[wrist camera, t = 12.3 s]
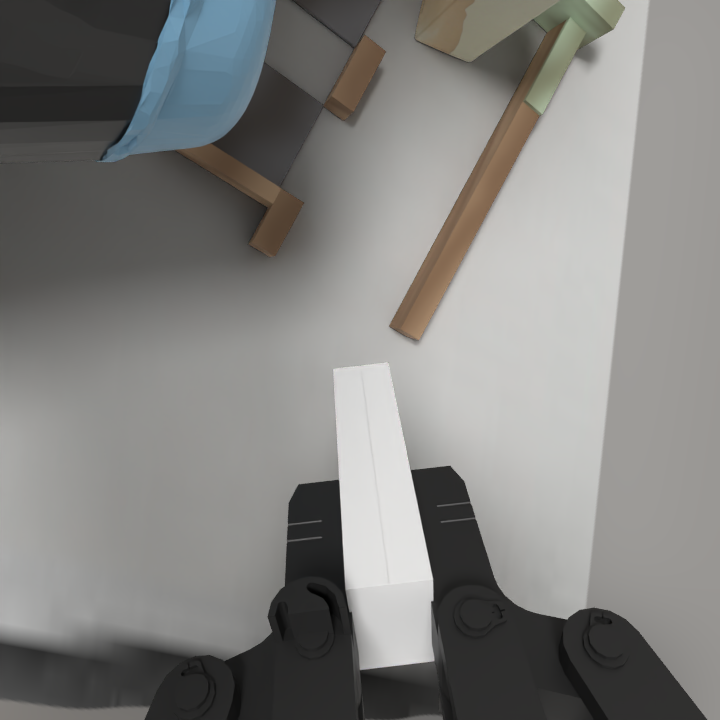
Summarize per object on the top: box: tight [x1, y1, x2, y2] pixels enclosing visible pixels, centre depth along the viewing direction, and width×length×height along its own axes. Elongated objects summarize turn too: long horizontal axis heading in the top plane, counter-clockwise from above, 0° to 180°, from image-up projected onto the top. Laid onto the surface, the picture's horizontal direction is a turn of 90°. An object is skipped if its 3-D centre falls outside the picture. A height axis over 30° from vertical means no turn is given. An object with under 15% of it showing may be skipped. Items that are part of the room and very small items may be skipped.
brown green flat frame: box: [175, 0, 625, 340], centre depth 32 cm, size 20×24×4 cm
